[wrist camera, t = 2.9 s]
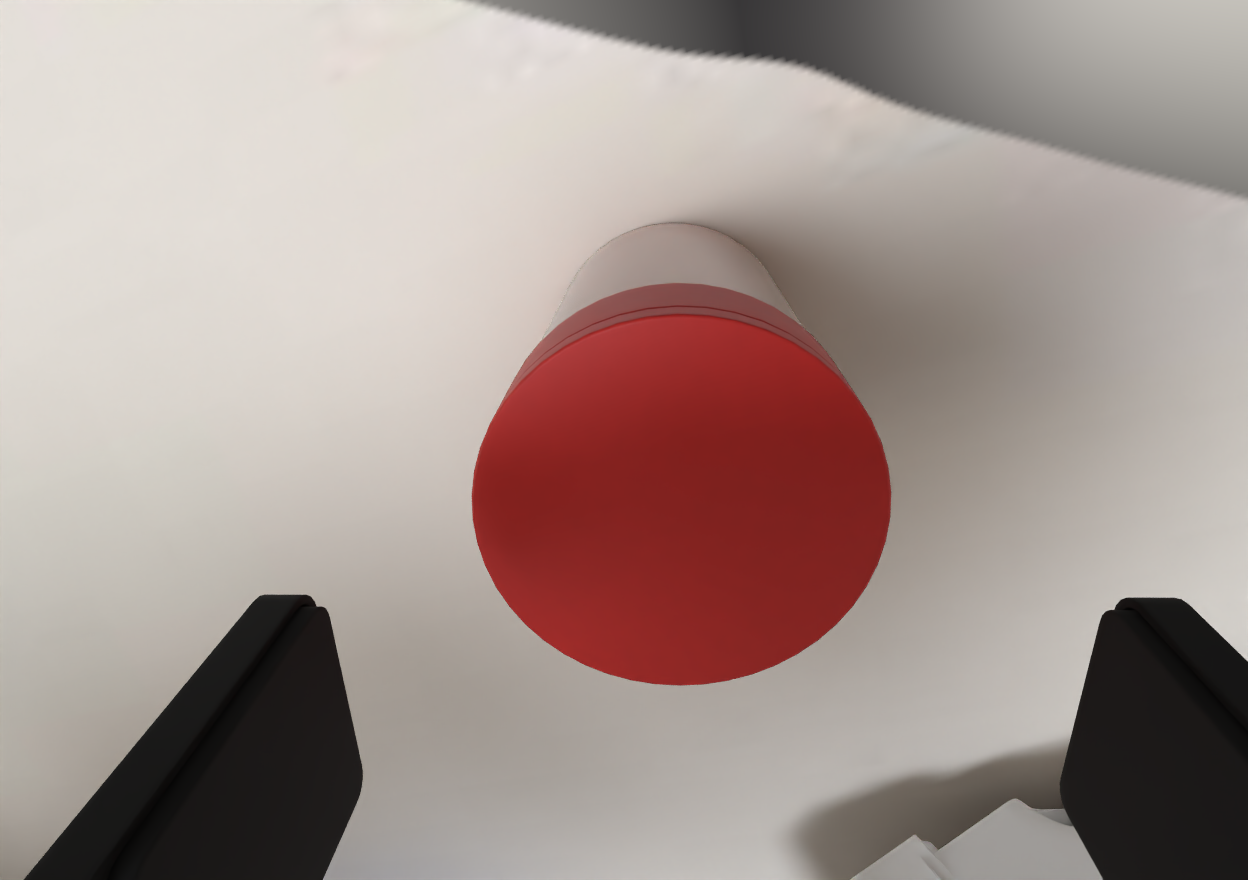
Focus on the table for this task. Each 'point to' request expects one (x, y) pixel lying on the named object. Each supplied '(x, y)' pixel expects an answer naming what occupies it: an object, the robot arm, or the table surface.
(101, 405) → the table surface
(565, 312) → the jar
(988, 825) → the jagged white slab
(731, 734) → the table surface
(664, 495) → the lid
